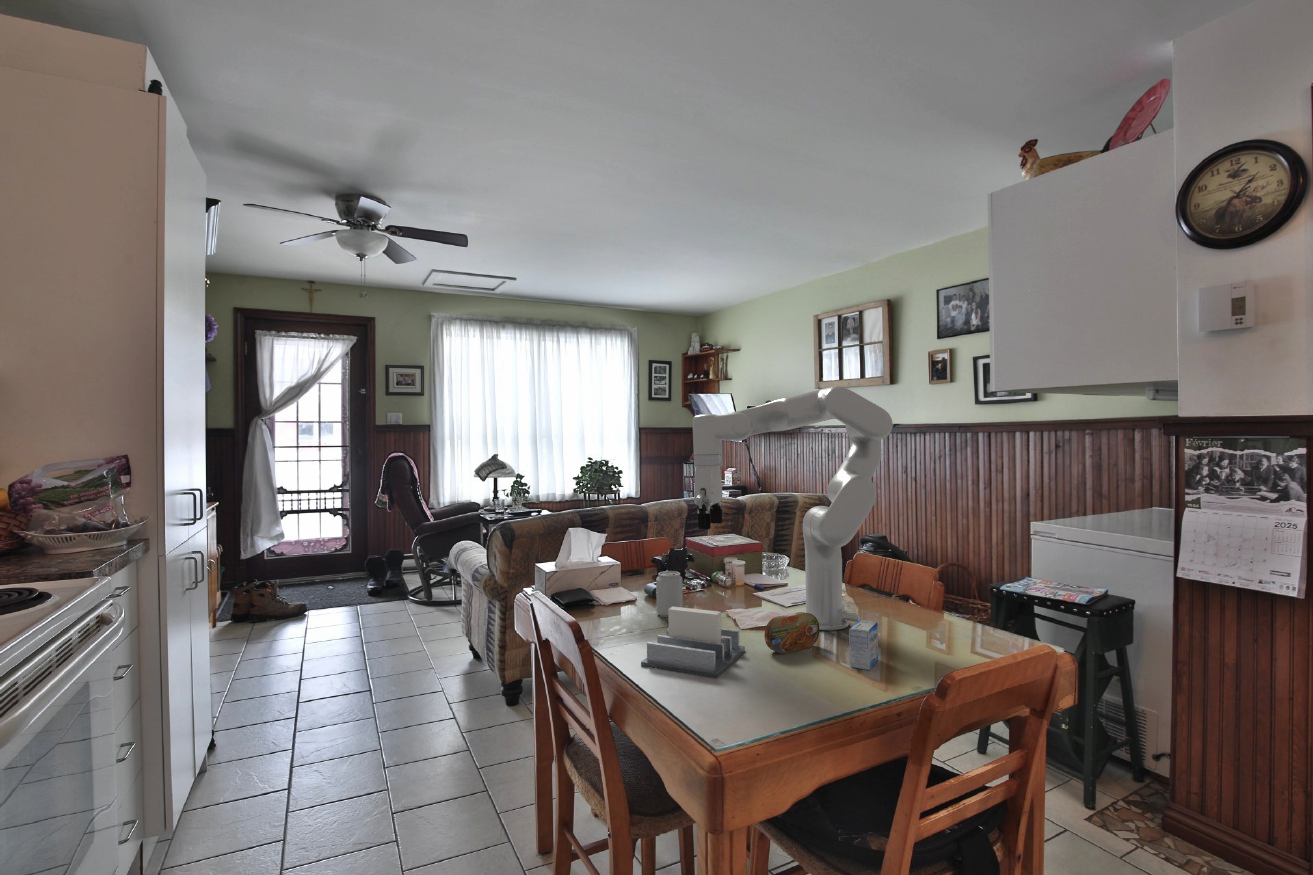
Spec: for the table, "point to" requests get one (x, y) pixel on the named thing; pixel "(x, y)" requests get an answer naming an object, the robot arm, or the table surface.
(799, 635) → the tin
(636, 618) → the table surface
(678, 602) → the can
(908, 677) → the table surface
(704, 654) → the dish rack
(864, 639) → the medicine box
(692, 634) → the cream white block
